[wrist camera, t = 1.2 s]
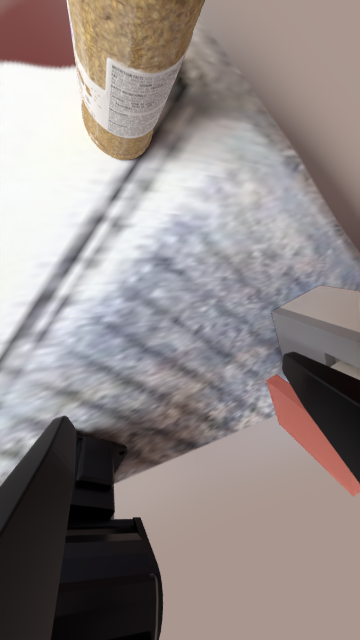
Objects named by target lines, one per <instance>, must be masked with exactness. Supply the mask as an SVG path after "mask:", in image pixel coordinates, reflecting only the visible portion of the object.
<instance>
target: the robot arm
mask: <svg viewBox="0 0 360 640" xmlns="http://www.w3.org/2000/svg"><path fill="white" fill-rule="evenodd" d="M282 370H283V373H284V374H285V376H286V378H287V380H288V381H289V383H290V385H291V387H292V388H293V390H294V392H295V393H296V395H297V397H298V399H299V400H300V402H301V404H302V405H303V407H304V408H305V410H306V411H307V412H308V414H309V415H310V416H311V418H312V419H313V421H314V422H315V423H316V425H317V426H318V427H319V429H320V430H321V432H322V433H323V434H324V436H325V437H326V438H327V440H328V441H329V443H330V444H331V445H332V447H333V448H334V449H335V451H336V452H337V453H338V455H339V456H340V458H341V459H342V460H343V462H344V463H345V464H346V466H347V467H348V469H349V470H350V471H351V473H352V474H353V475H354V477H355V478H356V480H357V481H358V482H359V484H360V380H359V379H356V378H354V377H352V376H350V375H347V374H345V373H343V372H340V371H338V370H336V369H334V368H331V367H329V366H327V365H325V364H322V363H320V362H318V361H315V360H313V359H311V358H309V357H306V356H304V355H302V354H299V353H297V352H294V351H292V352H288V353H285V354H284V355H283V364H282ZM120 451H122V452H120ZM126 454H127V447H126V446H124V445H121V444H117V443H113V442H109V441H105V440H100V439H96V438H92V437H88V436H84V435H80V434H76V429H75V427H74V425H73V424H72V423H71V421H70V420H69V419H68V417H67V416H61V417H58V418H55V419H54V420H53V421H52V422H51V423H50V424H49V426H48V427H47V428H46V429H45V431H44V432H43V433H42V434H41V436H40V437H39V438H38V440H37V441H36V442H35V443H34V445H33V446H32V447H31V448H30V450H29V451H28V452H27V453H26V455H25V456H24V457H23V458H22V460H21V461H20V462H19V463H18V465H17V466H16V467H15V468H14V470H13V471H12V472H11V473H10V475H9V476H8V477H7V479H6V480H5V481H4V482H3V484H2V485H1V486H0V640H159V637H160V632H161V625H162V615H163V591H162V582H161V576H160V571H159V568H158V564H157V561H156V559H155V556H154V553H153V550H152V548H151V545H150V543H149V540H148V538H147V534H146V532H145V529H144V526H143V523H142V520H141V518H140V517H134V518H133V519H114V512H115V505H114V474H115V472H116V470H117V469H118V467H119V465H120V464H121V462H122V461H123V459H124V457H125V456H126Z"/></svg>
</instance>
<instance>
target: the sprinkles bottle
mask: <svg viewBox="0 0 360 640" xmlns="http://www.w3.org/2000/svg"><path fill="white" fill-rule="evenodd" d="M204 2H205V0H67V6H68V12H69V20H70V27H71V34H72V41H73V48H74V55H75V62H76V69H77V76H78V83H79V88H80V92H81V96H82V116H83V121H84V124H85V127H86V129H87V132H88V134H89V136H90V137H91V139H92V141H93V142H94V143H95V144H96V145H97V147H98V148H99V149H101V150H102V151H104V152H105V153H106V154H108V155H110V156H111V157H114V158H116V159H119V160H130V159H134V158H136V157H138V156H140V155H141V154H143V152H144V151H145V150H146V149H147V147H148V146H149V143H150V141H151V139H152V134H153V128H154V126H155V125H156V123H157V122H158V119H159V117H160V115H161V112H162V110H163V108H164V105H165V103H166V101H167V98H168V96H169V93H170V91H171V89H172V86H173V84H174V81H175V79H176V77H177V74H178V72H179V69H180V67H181V64H182V62H183V59H184V57H185V54H186V52H187V50H188V47H189V45H190V42H191V39H192V35H193V30H194V27H195V25H196V22H197V19H198V17H199V15H200V12H201V8H202V6H203V4H204Z"/></svg>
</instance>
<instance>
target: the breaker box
mask: <svg viewBox="0 0 360 640" xmlns="http://www.w3.org/2000/svg"><path fill="white" fill-rule="evenodd" d="M271 313H272V317H273V321H274V325H275V329H276V333H277V337H278V341H279V345H280V349H281V353H282V357H283V355H284V354H285V353H288V352H292V351H294V352H297V353H299V354H302V355H304V356H306V357H309V358H311V359H313V360H315V361H318V362H320V363H322V364H325V365H327V366H329V367H331V366H332V365H334V364H336V363H337V362H339V361H341V360H342V361H344V362H347V363H349V364H351V365H353V366H355V367H358V368H360V292H359V291H353V290H346V289H340V288H333V287H326V286H320V285H319V286H318V287H316V288H314V289H312V290H310V291H308V292H306V293H305V294H303V295H301V296H299V297H297V298H295V299H293V300H292V301H290V302H288V303H286V304H284V305H282V306H281V307H279V308H277V309H275V310H273V311H271Z"/></svg>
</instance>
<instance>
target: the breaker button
mask: <svg viewBox="0 0 360 640" xmlns="http://www.w3.org/2000/svg"><path fill="white" fill-rule="evenodd" d="M331 368H334V369H336V370H338V371H340V372H343V373H345V374H347V375H350V376H352V377H354V378H356V379H359V380H360V368H358V367H355V366H353V365H351V364H349V363H347V362H344V361H342V360H341V361H339V362H337V363H336V364H334V365H332V366H331ZM266 381H267V385H268V388H269V391H270V395H271V398H272V401H273V405H274V408H275V412H276V415H277V418H278V422H279V424H280V425H281V426H282V427H283V428H284V429H285V430H286V431H287V432H288V433H289V434H290V435H291V436H292V437H293V438H294V439H295V440H296V441H297V442H298V443H299V444H301V446H303V448H305V450H306V451H308V452H309V453H310V454H311V455H312V456H313V457H314V458H315V459H316V460H317V461H318V462H319V463H320V464H321V465H322V466H323V467H324V468H325V469H326V470H327V471H328V472H329V473H330V474H331V475H332V476H333V477H334V478H335V479H336V480H337V481H338V482H339V483H340V484H341V485H342V486H343V487H344V488H345V489H346V490H347V491H349V493H351V495H352V496H355V495H356V494H358V493H359V492H360V484H359V482H358V481H357V480H356V478H355V477H354V475H353V474H352V473H351V471H350V470H349V469H348V467H347V466H346V464H345V463H344V462H343V460H342V459H341V458H340V456H339V455H338V453H337V452H336V451H335V449H334V448H333V447H332V445H331V444H330V443H329V441H328V440H327V438H326V437H325V436H324V434H323V433H322V432H321V430H320V429H319V427H318V426H317V425H316V423H315V422H314V421H313V419H312V418H311V416H310V415H309V414H308V412H307V411H306V410H305V408H304V407H303V405H302V404H301V402H300V400H299V399H298V397H297V395H296V393H295V392H294V390H293V388H292V387H291V385H290V383H288V382H287V381H285V380H284V379H282V378H281V377H280V376H278V375H277V374H276V375H275V376H273V377H271V378H270V379H268V380H266Z"/></svg>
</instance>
